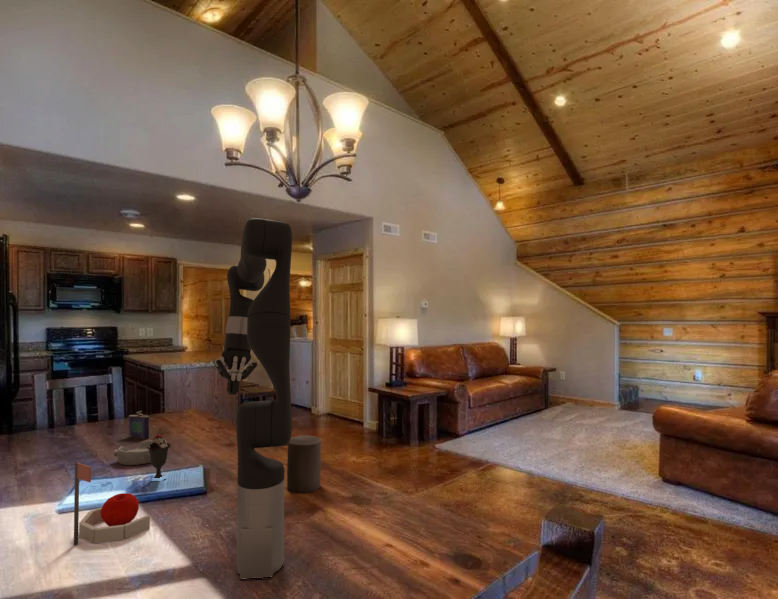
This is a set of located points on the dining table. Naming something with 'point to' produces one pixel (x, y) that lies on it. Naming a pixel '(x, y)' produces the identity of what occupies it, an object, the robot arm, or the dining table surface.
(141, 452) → the dish
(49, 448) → the dining table surface
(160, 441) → the sundae
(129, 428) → the flask
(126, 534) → the cup
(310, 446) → the pillar candle
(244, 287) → the robot arm
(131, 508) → the apple
